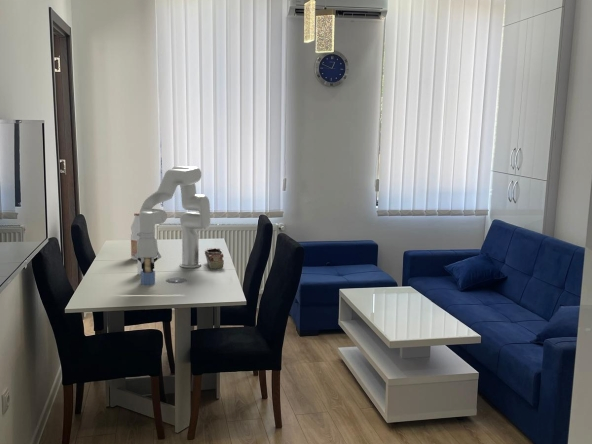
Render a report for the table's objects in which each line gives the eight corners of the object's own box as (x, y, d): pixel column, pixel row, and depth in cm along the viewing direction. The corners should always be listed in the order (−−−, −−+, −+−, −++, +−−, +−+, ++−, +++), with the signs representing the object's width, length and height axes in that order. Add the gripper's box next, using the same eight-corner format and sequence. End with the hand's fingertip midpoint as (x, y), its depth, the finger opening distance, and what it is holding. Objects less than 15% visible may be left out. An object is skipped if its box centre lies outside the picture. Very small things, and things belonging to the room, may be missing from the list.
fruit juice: (135, 261, 368) (134, 214, 364) (128, 258, 375) (127, 212, 371) (149, 259, 374) (149, 213, 369) (143, 256, 381) (142, 211, 377)
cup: (142, 282, 322) (141, 269, 320) (156, 282, 322) (155, 269, 321) (140, 286, 314) (139, 273, 313) (154, 286, 315) (154, 273, 314)
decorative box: (200, 270, 351) (200, 253, 350) (199, 261, 371) (199, 246, 369) (223, 269, 354) (224, 253, 352) (221, 261, 373) (221, 245, 371)
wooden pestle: (145, 282, 320) (144, 248, 317) (152, 282, 320) (151, 248, 317) (144, 283, 316) (143, 249, 313) (151, 283, 317) (150, 249, 314)
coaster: (166, 279, 330) (166, 277, 329) (187, 279, 331) (187, 277, 331) (164, 284, 319) (164, 283, 319) (186, 284, 320) (186, 283, 320)
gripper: (129, 236, 309) (130, 272, 313) (163, 236, 311) (163, 272, 314) (131, 233, 317) (132, 268, 320) (164, 234, 319) (165, 268, 322)
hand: (148, 269), depth 317 cm, fingers closed on wooden pestle, 3 cm apart
